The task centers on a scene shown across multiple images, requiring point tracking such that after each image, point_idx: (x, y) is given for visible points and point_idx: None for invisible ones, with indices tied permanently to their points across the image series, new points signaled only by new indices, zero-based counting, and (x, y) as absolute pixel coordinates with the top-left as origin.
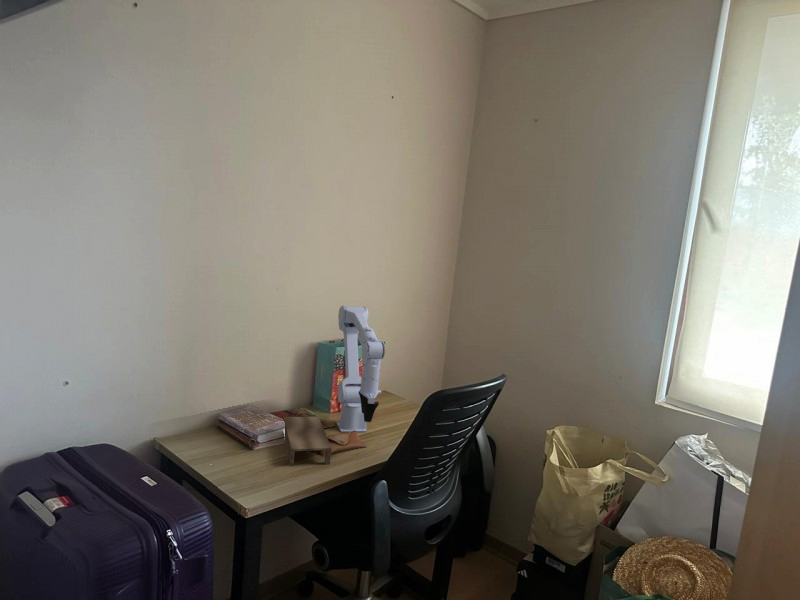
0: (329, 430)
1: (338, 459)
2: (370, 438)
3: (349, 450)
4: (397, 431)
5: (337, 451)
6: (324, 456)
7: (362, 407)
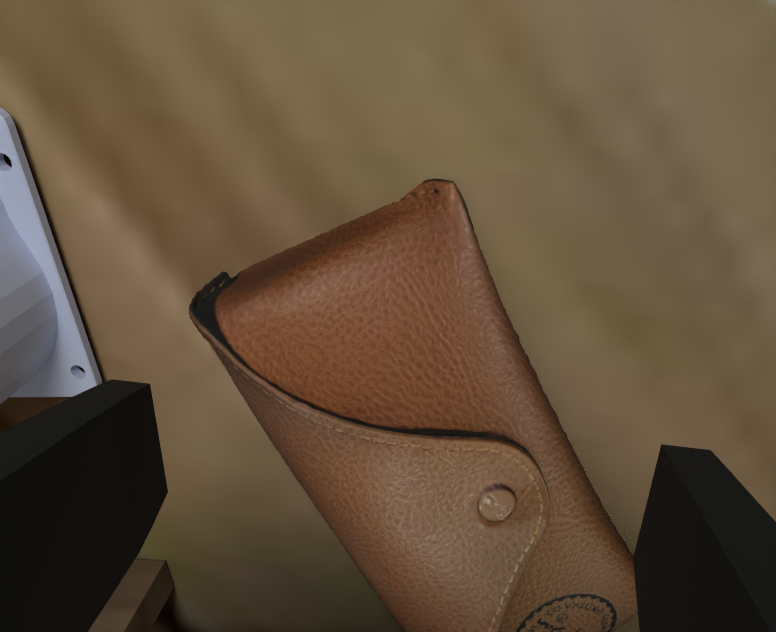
0: None
1: None
2: (188, 86)
3: (539, 382)
4: None
5: (602, 511)
6: None
7: (95, 596)
